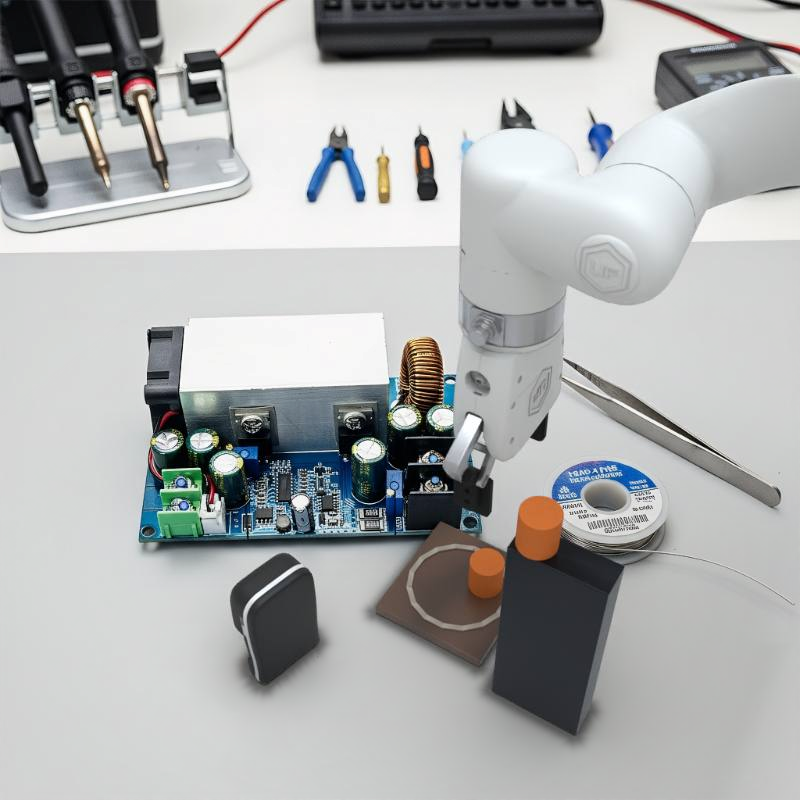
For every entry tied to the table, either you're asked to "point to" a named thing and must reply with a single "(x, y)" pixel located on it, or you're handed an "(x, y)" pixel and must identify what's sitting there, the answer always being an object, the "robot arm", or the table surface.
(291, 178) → the table surface
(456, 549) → the board
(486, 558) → the eye dot
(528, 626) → the dot stand
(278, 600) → the battery charger
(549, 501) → the eye dot
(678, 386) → the table surface
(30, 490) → the table surface
